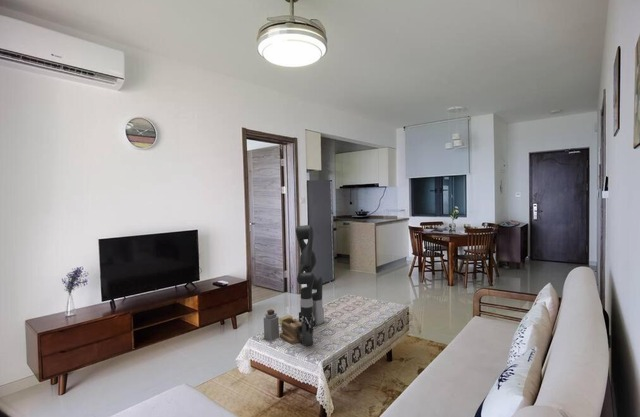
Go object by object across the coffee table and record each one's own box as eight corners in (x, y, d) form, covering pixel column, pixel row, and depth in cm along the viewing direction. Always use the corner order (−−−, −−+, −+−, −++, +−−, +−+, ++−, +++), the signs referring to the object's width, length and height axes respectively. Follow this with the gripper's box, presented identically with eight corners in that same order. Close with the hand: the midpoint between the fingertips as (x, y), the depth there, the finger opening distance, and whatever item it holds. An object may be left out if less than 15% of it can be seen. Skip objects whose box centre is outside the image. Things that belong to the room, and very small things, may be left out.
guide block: (297, 331, 236) (296, 316, 236) (309, 337, 226) (309, 322, 225) (279, 337, 228) (279, 321, 227) (291, 344, 217) (291, 328, 216)
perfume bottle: (272, 334, 232) (271, 307, 231) (279, 337, 228) (278, 310, 227) (264, 338, 227) (263, 310, 226) (271, 341, 223) (270, 313, 222)
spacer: (289, 321, 238) (289, 315, 237) (292, 322, 235) (292, 316, 234) (279, 324, 233) (279, 318, 232) (282, 325, 230) (282, 319, 229)
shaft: (287, 330, 237) (286, 310, 237) (313, 343, 216) (312, 322, 215) (281, 332, 234) (280, 312, 233) (306, 346, 213) (305, 324, 212)
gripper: (318, 306, 211) (319, 333, 212) (304, 300, 222) (305, 326, 223) (308, 309, 206) (309, 336, 207) (294, 303, 217) (295, 329, 218)
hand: (307, 331), depth 215 cm, fingers open, 7 cm apart
